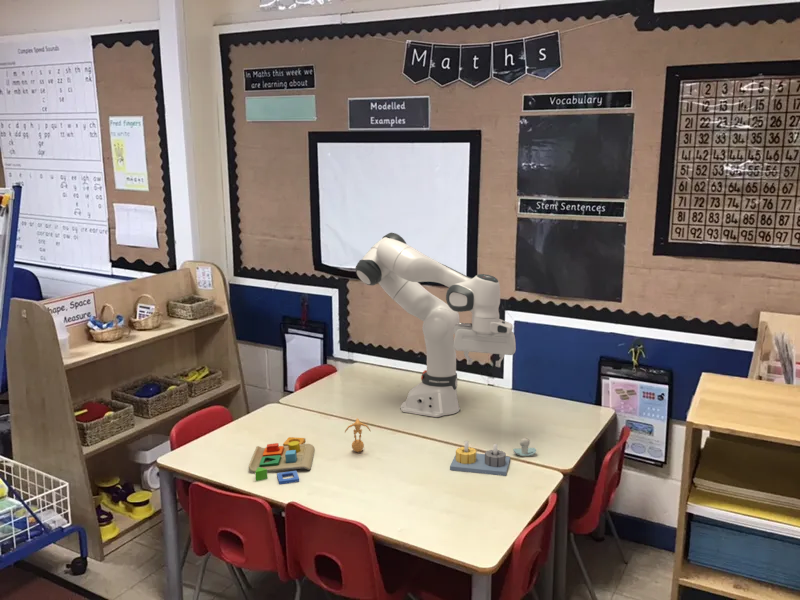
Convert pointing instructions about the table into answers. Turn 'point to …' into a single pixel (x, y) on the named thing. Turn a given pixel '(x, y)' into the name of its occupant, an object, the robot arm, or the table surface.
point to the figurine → (358, 444)
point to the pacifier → (524, 448)
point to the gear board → (484, 462)
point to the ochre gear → (466, 455)
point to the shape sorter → (282, 459)
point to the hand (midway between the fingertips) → (483, 365)
